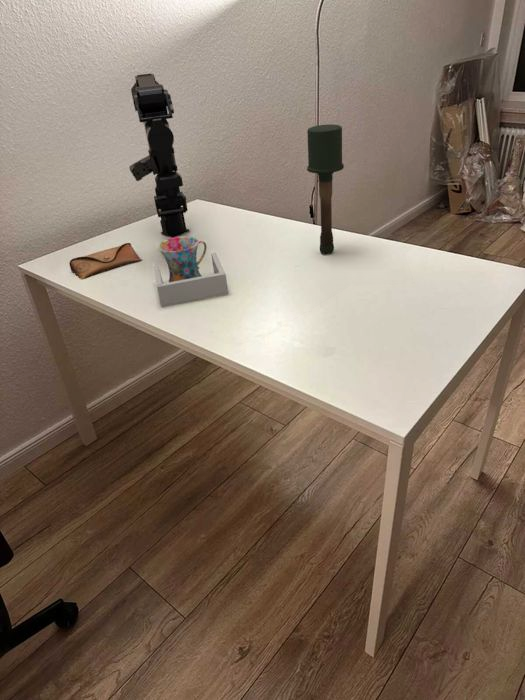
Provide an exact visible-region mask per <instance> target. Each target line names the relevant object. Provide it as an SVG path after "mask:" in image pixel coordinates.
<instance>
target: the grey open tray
mask: <svg viewBox="0 0 525 700" xmlns="http://www.w3.org/2000/svg"><path fill="white" fill-rule="evenodd" d="M210 255H211V260H212V261H211V263H212V267H213V273H212V274H207V275H201V277H195V278H190V279H185V280H179V281H174V282H169V281H168V282H169V283H168V282H163V279H162V274H161V270H160V269H161V268H160V265H159V262H156V263H153V270H154V277H155V284H156V288H157V293H158V298H159V301H160V306H161V308H164V307H168V306H174V305H179V304H185V303H189V302H190V303H191V302H195V301H201V300H205V299H208V298H209V299H210V298H214V297H220V296H225V295H229V289H228V282H227V275H226V271H225V270H224V267H223V265H222V263H221V261H220V258H219V256H218V255H217V252H211V253H210Z"/></svg>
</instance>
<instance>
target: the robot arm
mask: <svg viewBox="0 0 525 700" xmlns="http://www.w3.org/2000/svg"><path fill="white" fill-rule="evenodd" d="M134 79H135V83H134V84H133V86H132V87H131V89H130V93H131V96H132V97H131V98H132V101H133V106H134V110H135V112H137V116H138V120H139V123H142V124H143V125H144V126H143V127H144V129H145V136H146V139H147V144H148V151H147V152H148V155H147V156H145V157H143V158H141V159H139V160H137V161H136V162H134V163H132V164H130V165H129V171H130V172H131V175H132V176H133V177H134V179H135V181H136V182H140V181H141V180H143V178H145V177H146V176H148V175H150V174H153V176H155V177H154V180H155V181H154V182H155V188H154V192H155V193H154V194H155V195H154V196H153V200H154V204H155V205H154V206H155V209H156V212H157V218H160V220H159V222H160V226H161V232H160V234H161V235H164V236H167V237H170V238H175V237H180V236H182V235H184V234H187V233H189V232H190V229H189V228H187V226H186V221H185V213H187V212H188V203H187V197H186V195H185V194H184V193H183V191H181V190H180V187H183V186H184V184H183V178H182V175H181V174H180V173H179V172H178V171H179V169H178V165H177V162H176V157H175V149H174V141H175V137H174V133H173V131H172V129H171V128H170V124H169V121H168V120H169V119H173V118H174V117H173V114H175V110H174V104H173V101H172V98H171V94H170V93H169V91H168V90H167V89H164V86H163V84H161V83H159V82H158V81H156V77H155V74H154V73H151V72H150V73H142V74H137V75H136V76H134Z"/></svg>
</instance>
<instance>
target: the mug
mask: <svg viewBox="0 0 525 700" xmlns="http://www.w3.org/2000/svg"><path fill="white" fill-rule="evenodd" d="M200 244H203V252H202V254H201V257H200V258H199V260H198V261H197V254H198V253H197V252H198V247H199V245H200ZM157 249H158V250H159V252H160V254H161V255H162V256H163V258H164V260H165V262H166V265H167V268H168V271H169V273H168V274H169V279H168V282H167V283H169V282H174V281H179V280H185V279H190V278H195V277H201V276H202V274H201V273H200V271H199V269H200V267H199V265H200V264H201V263H202V261H203V259H204V258H205V255H206V253H207V243H206V242H205V241H203V240H199V239H198V238H196V237H193V236H188V235H187V236H176V237H173V238H172V237H170V238H168V239H165V240H163V241H162V242H160V243H159V245H158V248H157Z"/></svg>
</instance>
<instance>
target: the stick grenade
mask: <svg viewBox="0 0 525 700" xmlns="http://www.w3.org/2000/svg"><path fill="white" fill-rule="evenodd" d="M307 156H308V157H307V158H308V159H307V161H308V162H307V163H308V165H307V166H306V171H307V172H308V173H312V174H317V175H318V195H319V198H320V199H319V201H320V235H319V252H320V254H322V255H325V254H326V255H327V254H328V255H331V254H333V253H334V250H335V246H334V235H333V227H332V225H333V224H332V222H333V219H332V216H333V215H332V214H333V213H332V209H333V208H332V199H333V198H332V197H333V174H334V173H337V172H340V171H342V170H343V169H344V167H345V165H344V163H343V127H342V126H341V125H339V124H331V123H330V124H329V123H328V124H319V125H314V126H311V127H309V128H307Z"/></svg>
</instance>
